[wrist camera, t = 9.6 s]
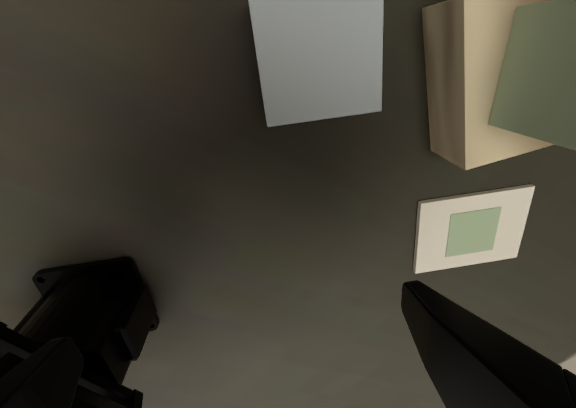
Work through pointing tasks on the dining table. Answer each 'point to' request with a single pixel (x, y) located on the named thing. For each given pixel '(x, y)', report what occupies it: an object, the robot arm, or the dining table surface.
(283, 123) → the blue-grey cube
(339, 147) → the dining table surface
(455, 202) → the card
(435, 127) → the birch block
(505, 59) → the sage cube
